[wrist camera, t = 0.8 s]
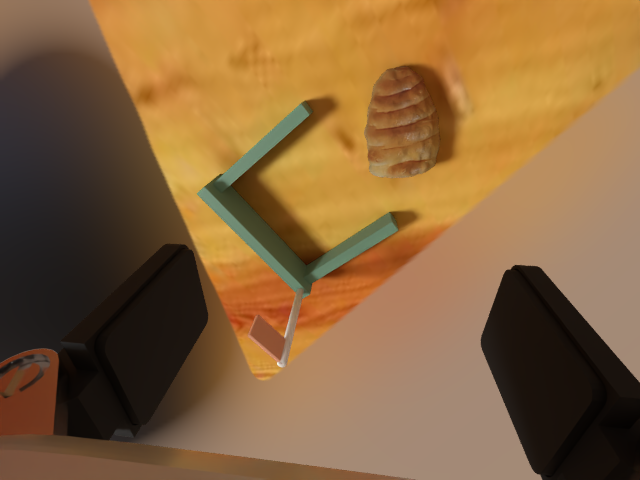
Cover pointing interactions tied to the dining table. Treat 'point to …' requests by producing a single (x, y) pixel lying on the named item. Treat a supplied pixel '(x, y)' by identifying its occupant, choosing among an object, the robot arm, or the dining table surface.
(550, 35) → the dining table surface
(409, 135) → the pastry
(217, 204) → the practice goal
